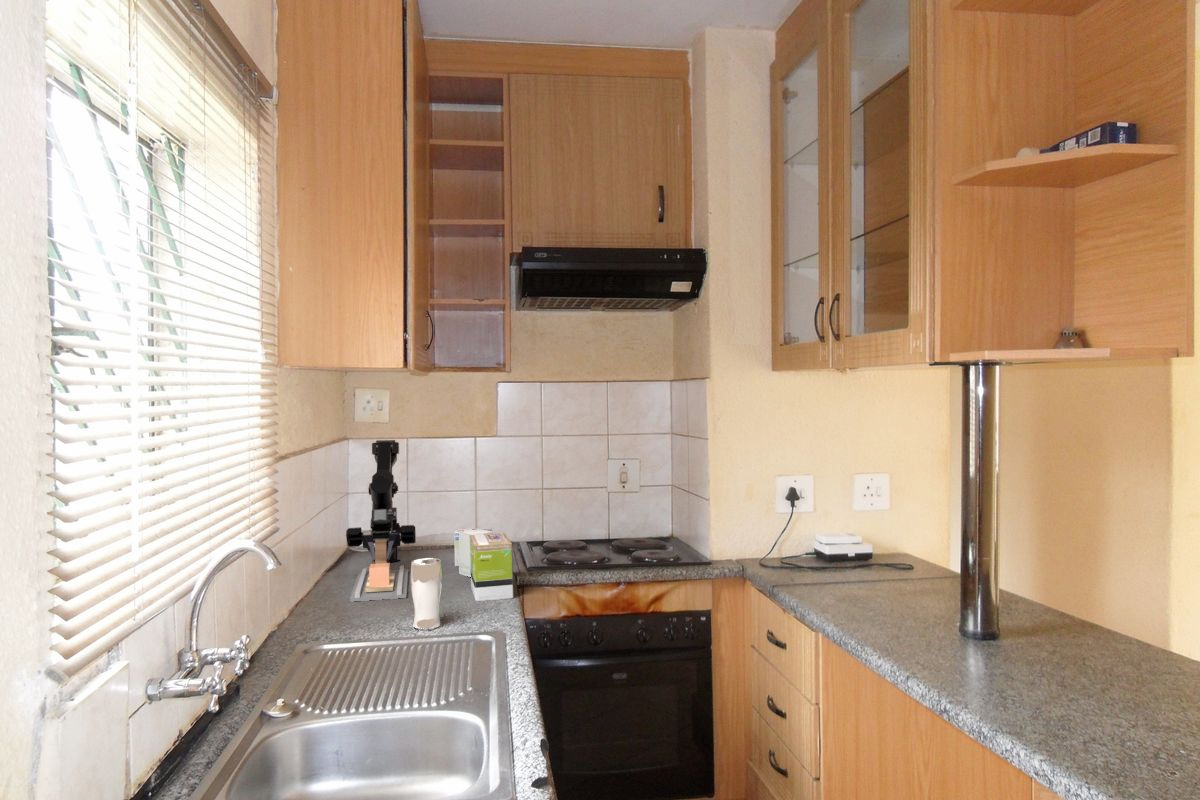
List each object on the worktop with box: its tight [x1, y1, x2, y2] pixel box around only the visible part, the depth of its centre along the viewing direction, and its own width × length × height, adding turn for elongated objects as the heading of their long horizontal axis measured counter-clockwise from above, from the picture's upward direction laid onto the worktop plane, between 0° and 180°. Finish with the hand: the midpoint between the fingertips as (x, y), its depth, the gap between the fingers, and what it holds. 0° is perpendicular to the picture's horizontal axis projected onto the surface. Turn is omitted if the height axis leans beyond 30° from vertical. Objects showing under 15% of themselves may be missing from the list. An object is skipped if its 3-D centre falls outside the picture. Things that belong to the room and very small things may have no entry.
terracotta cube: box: [368, 563, 391, 587], centre depth 208 cm, size 5×5×5 cm
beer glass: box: [410, 557, 443, 629], centre depth 177 cm, size 7×7×15 cm
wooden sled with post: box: [365, 540, 395, 592], centre depth 212 cm, size 16×7×11 cm, turn 13°
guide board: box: [349, 565, 409, 603], centre depth 215 cm, size 30×14×2 cm, turn 13°
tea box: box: [470, 532, 514, 602], centre depth 206 cm, size 15×10×15 cm, turn 14°
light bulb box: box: [453, 528, 493, 567], centre depth 241 cm, size 11×7×11 cm, turn 84°
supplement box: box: [458, 528, 493, 578], centre depth 228 cm, size 7×7×13 cm
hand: (380, 561), depth 214 cm, fingers closed on wooden sled with post, 3 cm apart
